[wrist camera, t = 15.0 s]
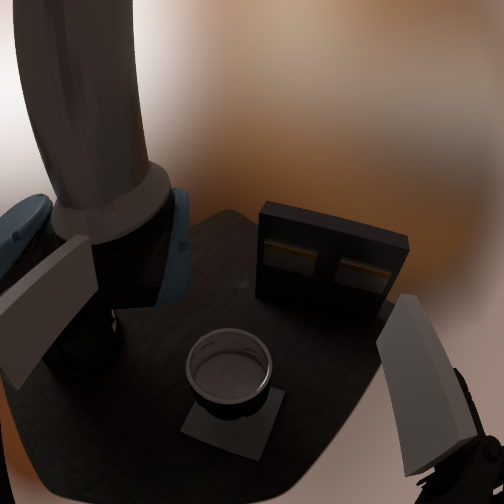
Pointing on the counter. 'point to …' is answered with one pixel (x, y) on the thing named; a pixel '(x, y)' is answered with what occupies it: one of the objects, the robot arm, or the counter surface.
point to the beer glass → (230, 378)
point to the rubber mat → (242, 444)
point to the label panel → (326, 263)
